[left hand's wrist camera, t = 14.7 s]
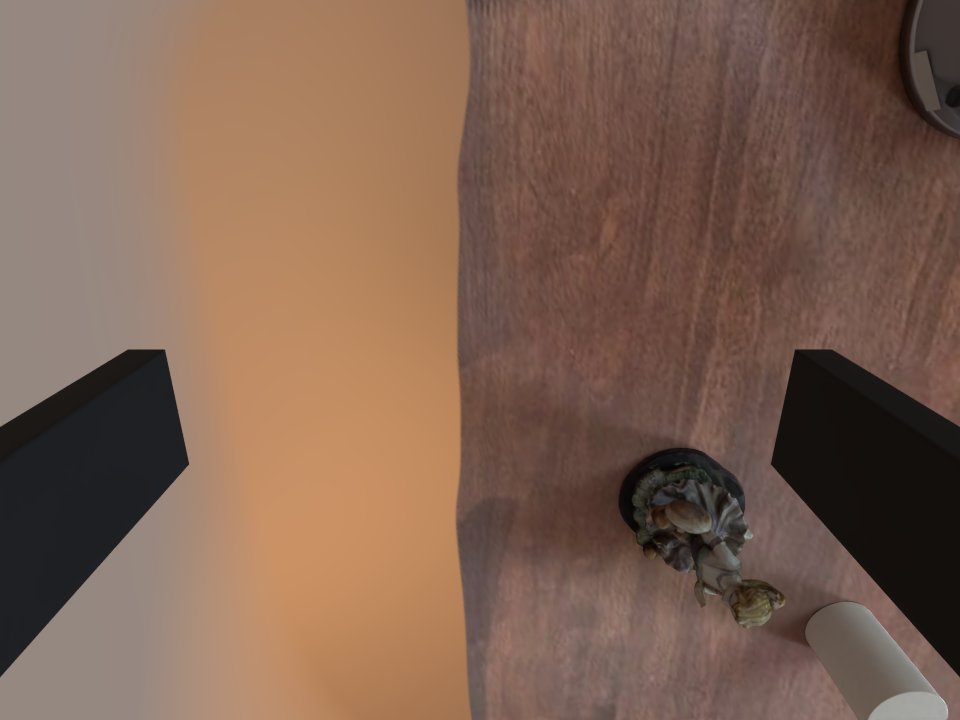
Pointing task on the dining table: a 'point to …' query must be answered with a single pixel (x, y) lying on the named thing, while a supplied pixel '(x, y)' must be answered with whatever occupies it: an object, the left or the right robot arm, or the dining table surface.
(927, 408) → the left robot arm
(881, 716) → the can
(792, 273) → the dining table surface
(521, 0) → the dining table surface
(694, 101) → the dining table surface
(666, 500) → the figurine
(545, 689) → the dining table surface
